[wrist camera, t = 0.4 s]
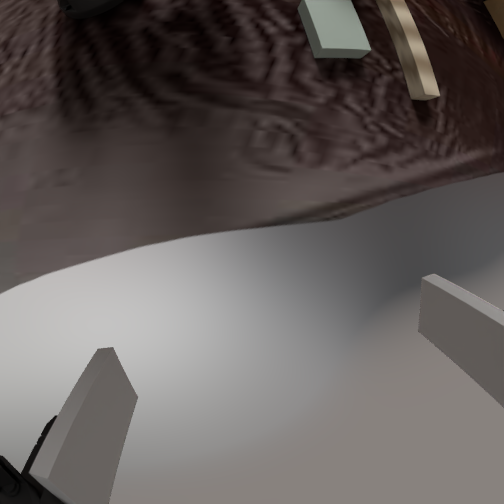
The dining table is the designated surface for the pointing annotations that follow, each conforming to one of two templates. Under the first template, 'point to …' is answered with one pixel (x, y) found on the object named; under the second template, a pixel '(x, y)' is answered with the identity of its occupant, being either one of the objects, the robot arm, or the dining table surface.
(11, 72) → the dining table surface
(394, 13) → the curved wooden bar
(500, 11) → the sandwich container
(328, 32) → the block
